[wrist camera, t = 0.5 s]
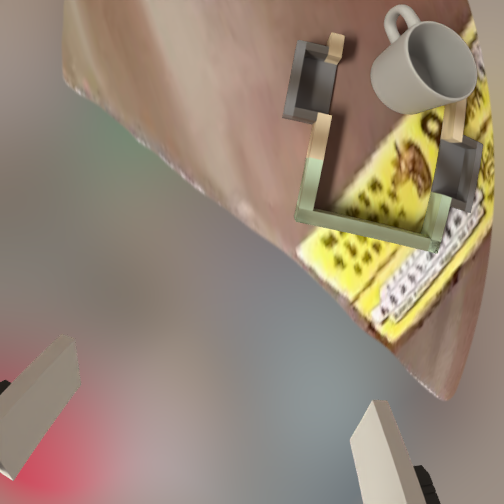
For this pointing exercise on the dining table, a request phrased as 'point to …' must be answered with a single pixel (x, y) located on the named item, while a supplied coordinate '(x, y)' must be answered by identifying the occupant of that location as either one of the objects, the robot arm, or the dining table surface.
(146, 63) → the dining table surface
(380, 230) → the grey-green u-shaped bracket
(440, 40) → the mug
